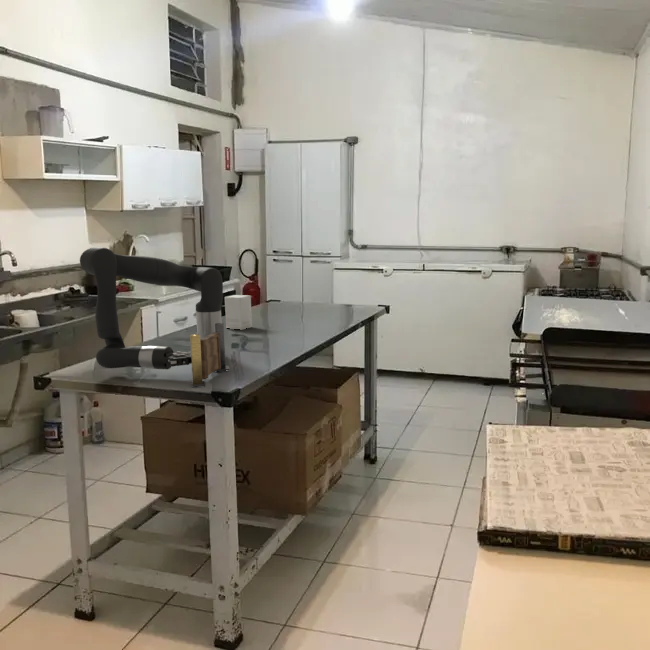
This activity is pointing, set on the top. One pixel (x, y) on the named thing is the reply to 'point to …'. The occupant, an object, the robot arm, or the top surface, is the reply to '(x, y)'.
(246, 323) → the supplement box
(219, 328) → the hinge post
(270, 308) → the top surface
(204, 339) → the gate
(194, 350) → the post
